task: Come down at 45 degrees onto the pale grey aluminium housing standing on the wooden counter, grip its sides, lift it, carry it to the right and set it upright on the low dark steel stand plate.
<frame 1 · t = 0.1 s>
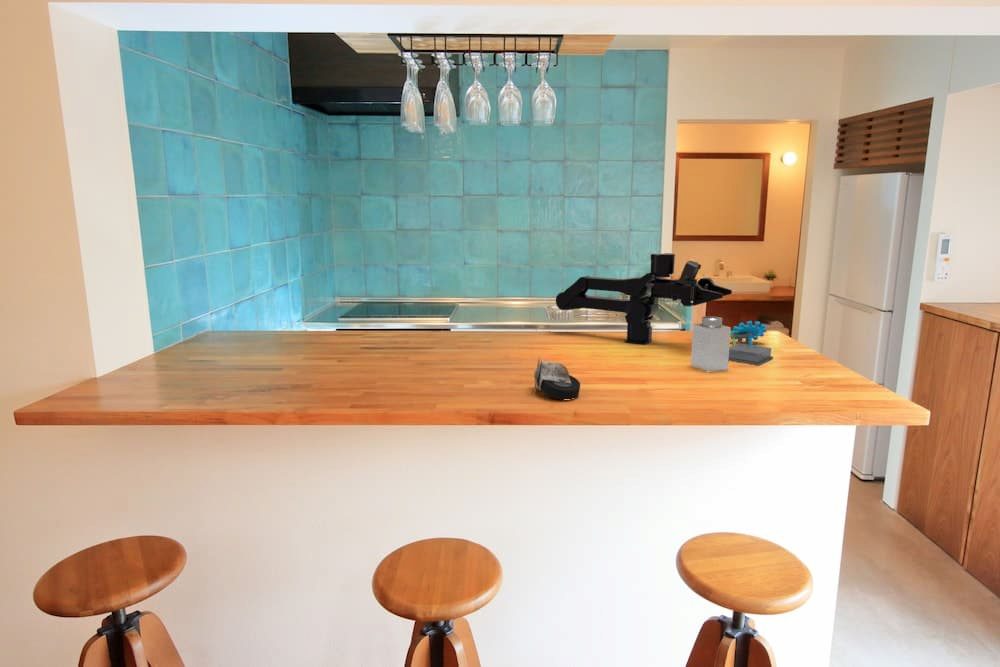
hand: (727, 293, 178), 17 cm above the table, tool horizontal, fingers open, 9 cm apart
stand: (747, 359, 173), on the table
gear: (745, 344, 192), on the table
caster wheel: (556, 394, 143), on the table
housing: (708, 367, 164), on the table
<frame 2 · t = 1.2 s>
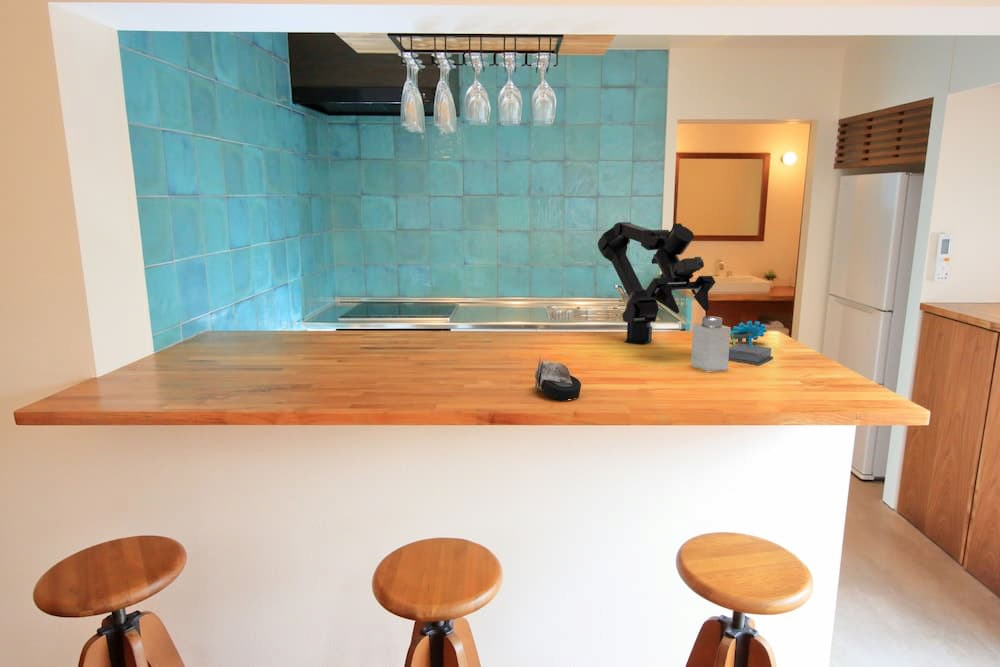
hand: (692, 311, 169), 13 cm above the table, tool tilted 45°, fingers open, 9 cm apart
nothing on the table moved.
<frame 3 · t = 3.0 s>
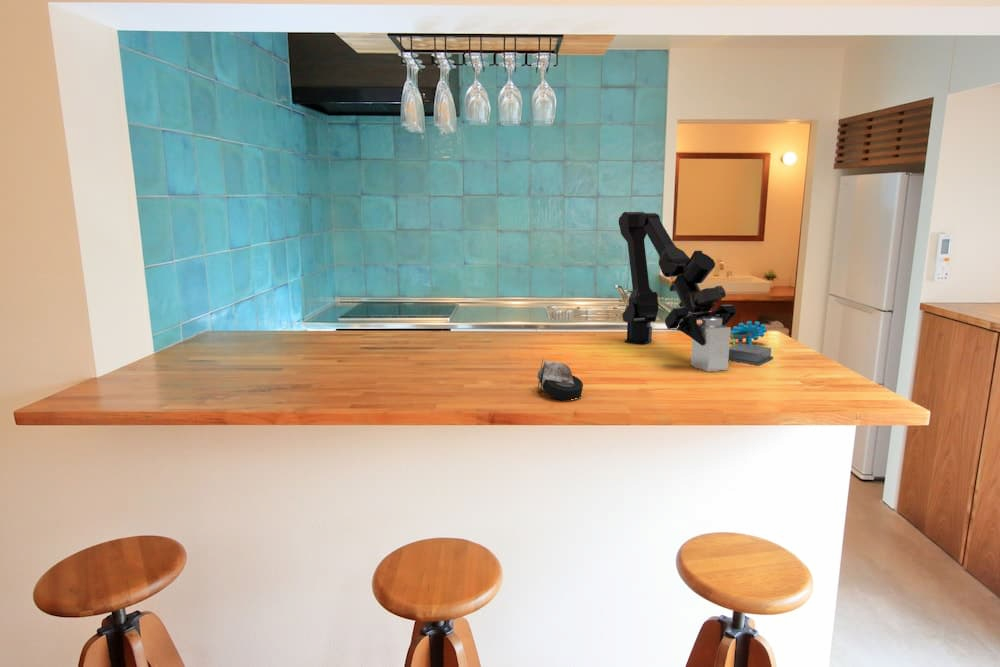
hand: (714, 343, 162), 7 cm above the table, tool tilted 45°, fingers closed on housing, 6 cm apart
housing: (709, 367, 164), on the table, touching gripper
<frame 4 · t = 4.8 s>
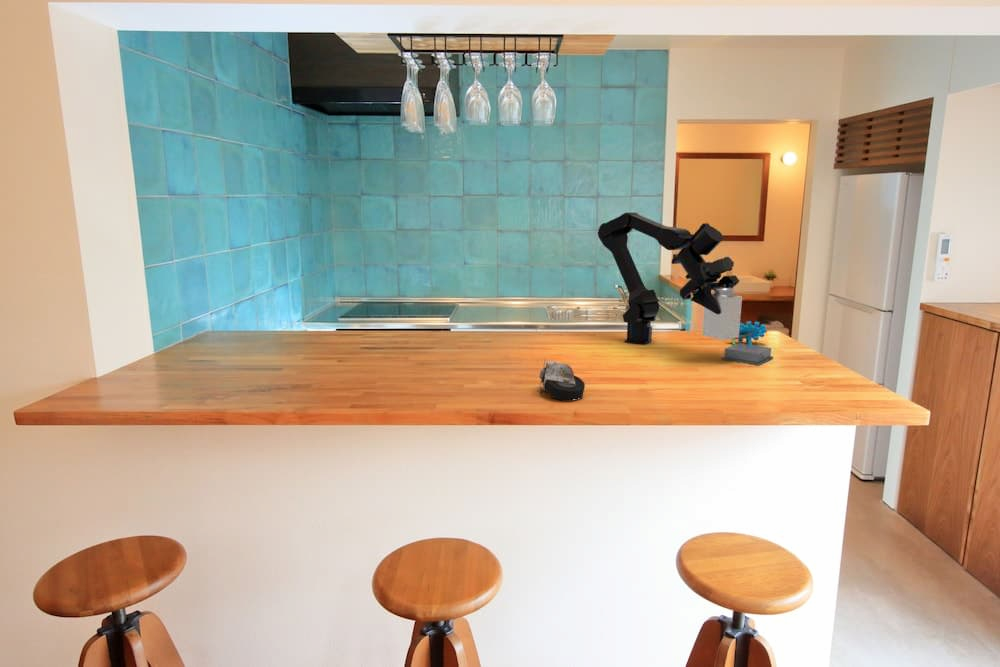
hand: (726, 312, 169), 13 cm above the table, tool tilted 45°, fingers closed on housing, 6 cm apart
housing: (720, 336, 171), point 6 cm above the table, touching gripper
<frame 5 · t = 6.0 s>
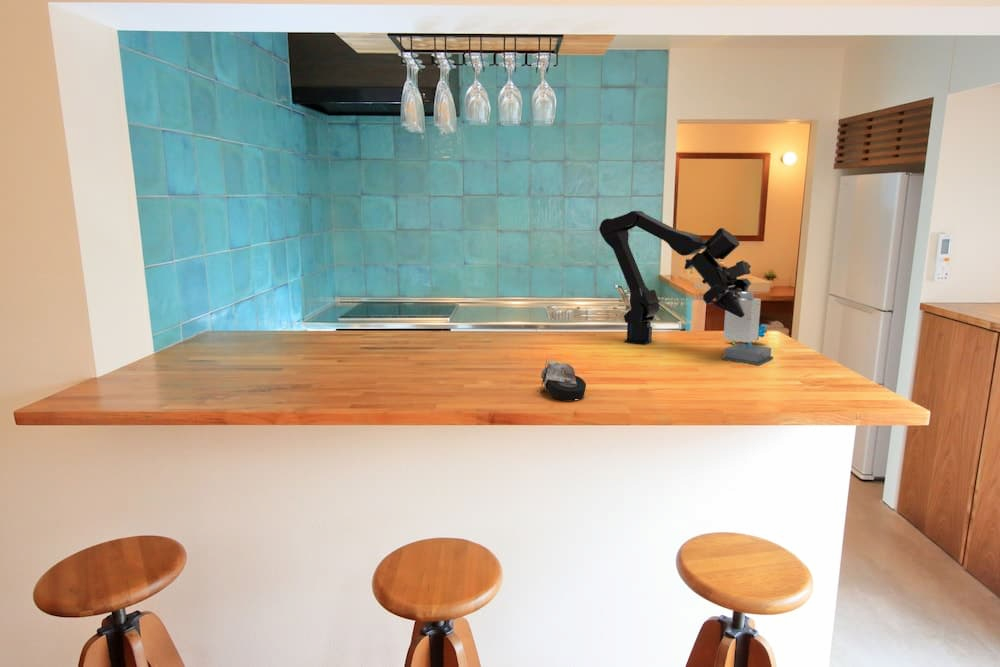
hand: (747, 315, 171), 12 cm above the table, tool tilted 45°, fingers closed on housing, 6 cm apart
housing: (740, 339, 174), point 5 cm above the table, touching gripper
when the fingers open (11 cm above the table, at t = 6.9 s): housing drops 1 cm, resting on stand.
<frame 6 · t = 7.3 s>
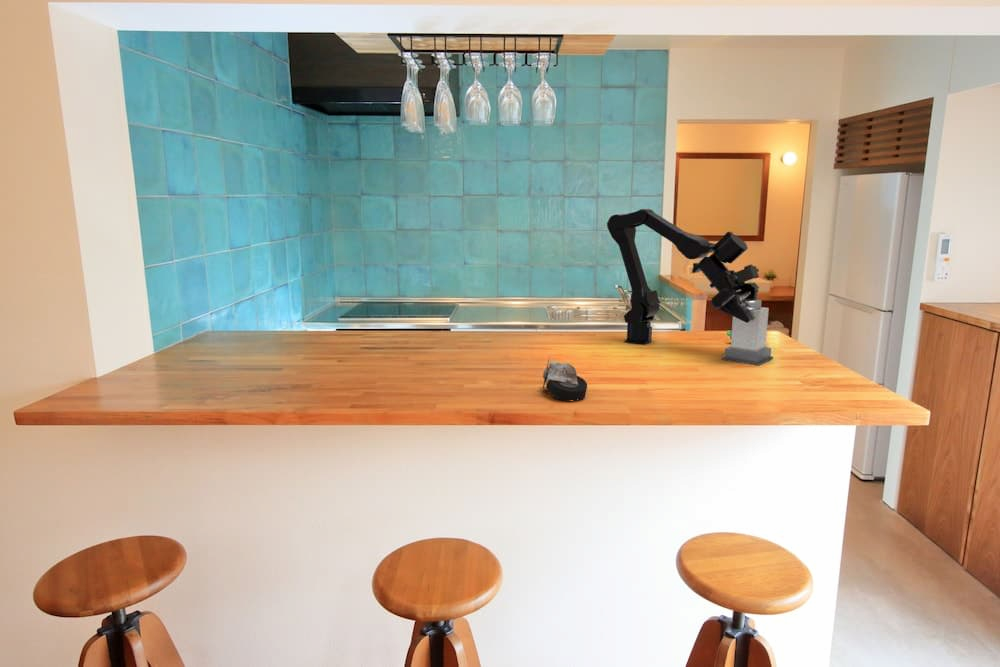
hand: (755, 319, 170), 11 cm above the table, tool tilted 45°, fingers open, 9 cm apart
housing: (748, 348, 173), point 3 cm above the table, touching stand
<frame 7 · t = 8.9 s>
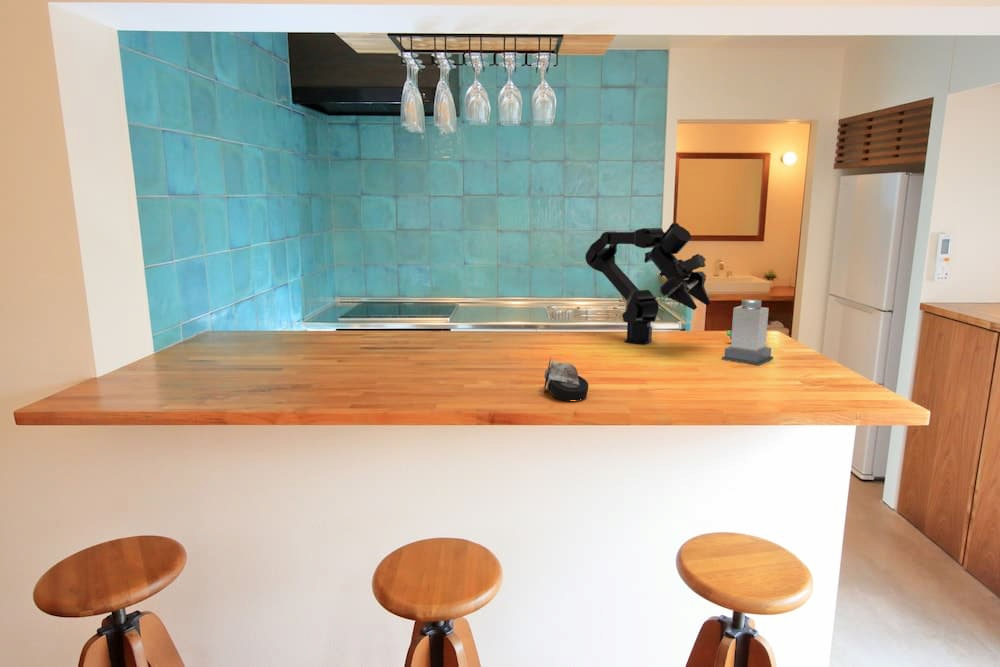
hand: (702, 306, 177), 13 cm above the table, tool tilted 45°, fingers open, 9 cm apart
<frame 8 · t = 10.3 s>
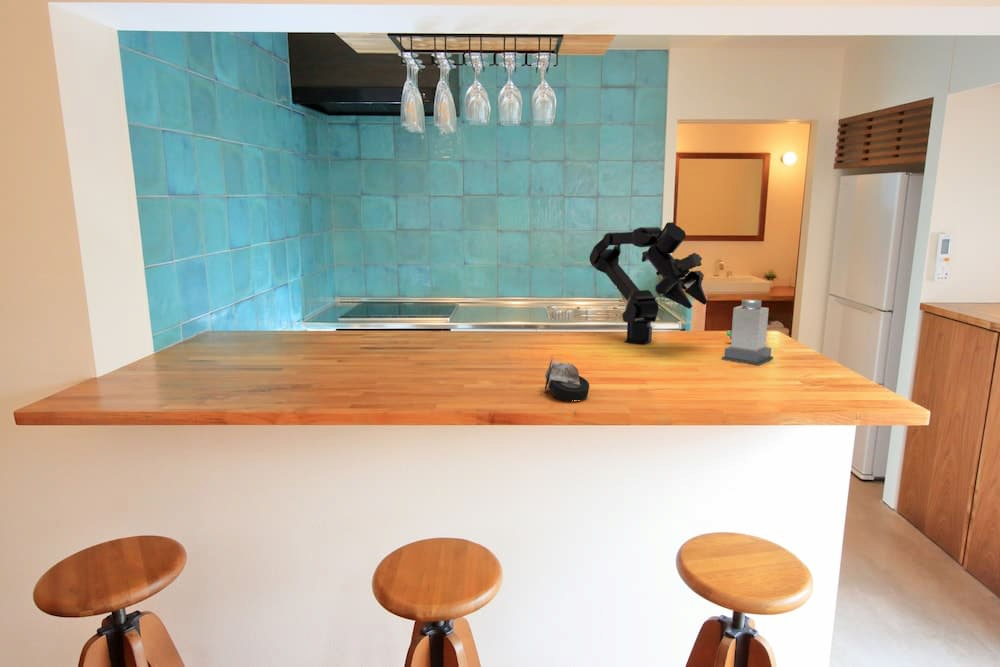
hand: (698, 305, 177), 14 cm above the table, tool tilted 45°, fingers open, 9 cm apart
at the end: housing inside the target area on the stand (0.0 cm from its centre), point 3.0 cm above the stand's base; housing tilted 0°; the gripper is holding nothing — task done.
